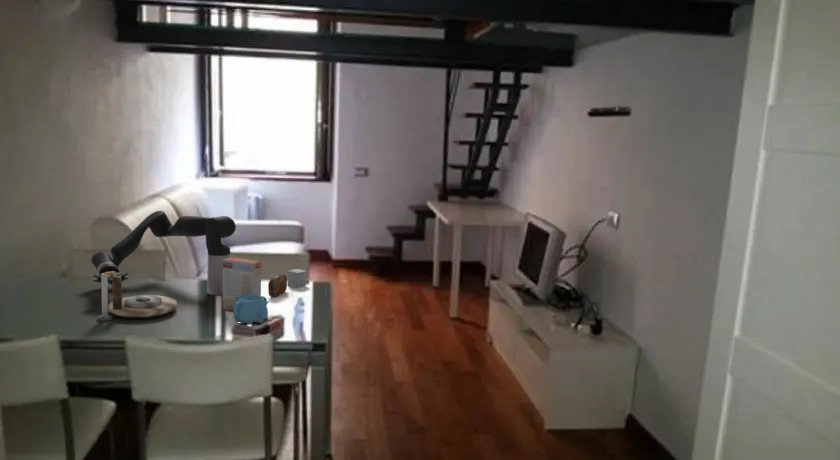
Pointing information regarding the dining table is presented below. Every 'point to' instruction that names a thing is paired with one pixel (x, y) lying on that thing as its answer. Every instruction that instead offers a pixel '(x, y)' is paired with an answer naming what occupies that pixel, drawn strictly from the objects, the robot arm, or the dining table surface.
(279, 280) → the brown rounded slab
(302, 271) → the grey rounded block
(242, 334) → the dining table surface
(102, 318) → the post
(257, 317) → the teapot
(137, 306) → the turntable
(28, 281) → the dining table surface
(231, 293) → the cracker box
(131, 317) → the turntable base
